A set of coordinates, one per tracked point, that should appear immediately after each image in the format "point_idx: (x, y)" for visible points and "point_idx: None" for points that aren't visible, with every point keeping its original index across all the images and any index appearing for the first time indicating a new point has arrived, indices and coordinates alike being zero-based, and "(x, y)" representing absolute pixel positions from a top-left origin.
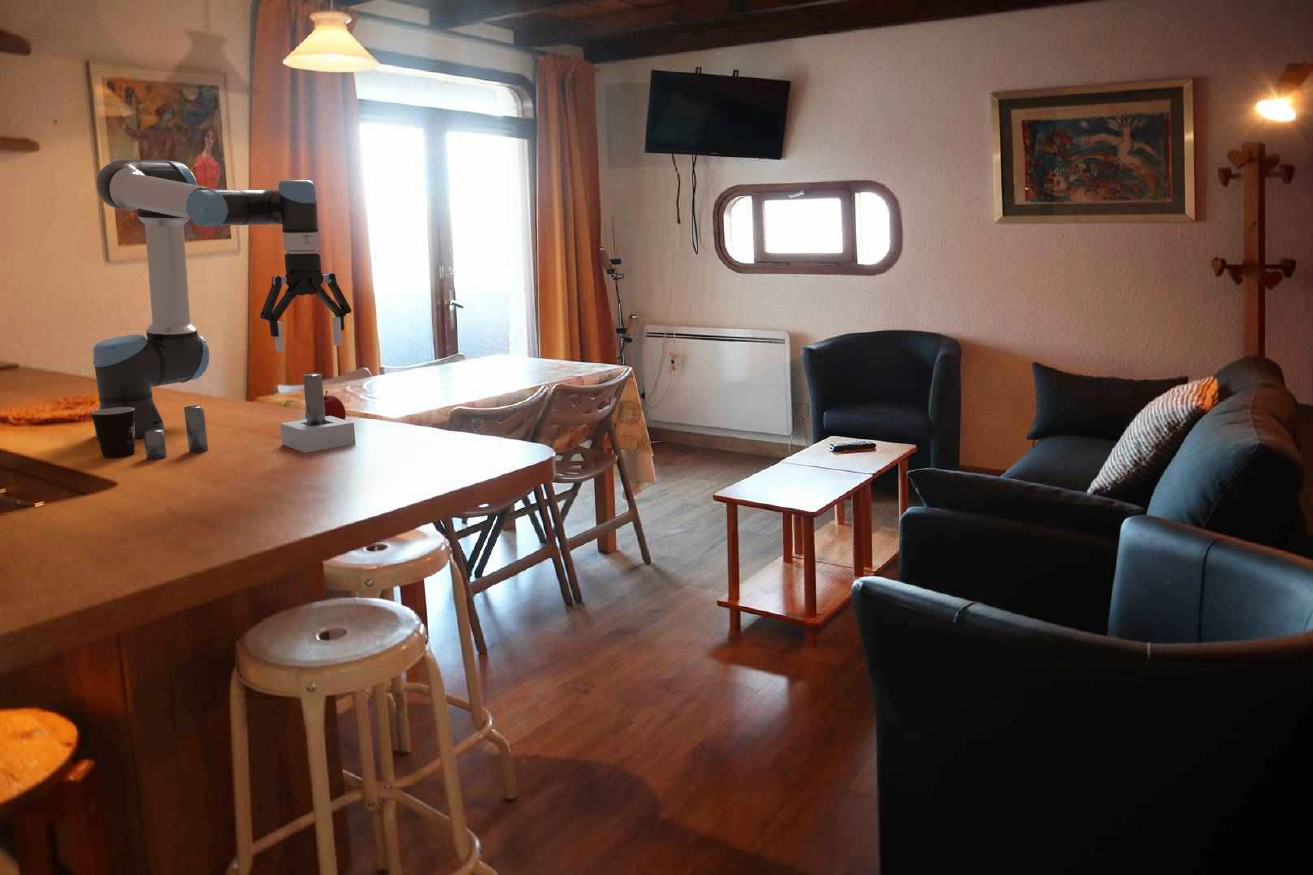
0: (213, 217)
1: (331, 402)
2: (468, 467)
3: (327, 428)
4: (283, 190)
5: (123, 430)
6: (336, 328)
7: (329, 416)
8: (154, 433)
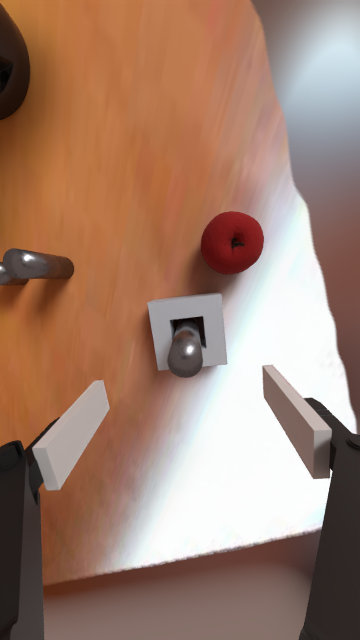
0: None
1: (238, 264)
2: (262, 506)
3: None
4: None
5: None
6: (287, 425)
7: (218, 299)
8: None
